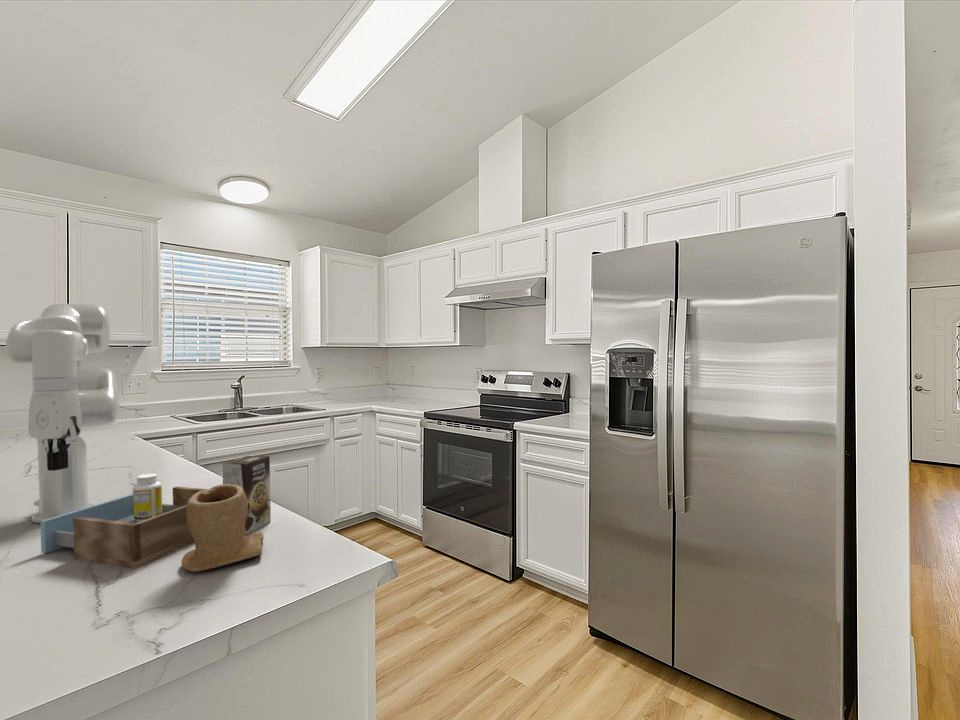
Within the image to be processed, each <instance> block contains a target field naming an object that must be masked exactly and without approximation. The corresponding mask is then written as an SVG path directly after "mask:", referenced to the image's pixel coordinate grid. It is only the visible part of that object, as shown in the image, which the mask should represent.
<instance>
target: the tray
mask: <svg viewBox="0 0 960 720" xmlns="http://www.w3.org/2000/svg"><path fill="white" fill-rule="evenodd" d="M179 507H182V506H180V505H173V504H168V503H162V513H165V512H168V511H171V510H173V509H176V508H179ZM77 517H87V518H96V519H104V520H113V521H121V522H130V523H137V521H135V519H134V498H133V493H130V494H126V495H123V496H121V497H116V498H113V499H110V500H106V501H103V502H100V503H99V502H98V503H96V504H94V505H92V506H89V507H86V508H82V509H79V510H76V511H72V512H69V513H65V514H62V515H59V516H55V517H52V518H49V519H45V520H42V521H40V523H39V524H40V550H41V552H40V553H41V554H48V553H51V552H53V551H56V550H58V549H62V548H71V549H74V529H73V518H77Z"/></svg>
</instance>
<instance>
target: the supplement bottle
mask: <svg viewBox="0 0 960 720" xmlns="http://www.w3.org/2000/svg"><path fill="white" fill-rule="evenodd" d="M132 487H133V488H132V490H133V491H132V492H133V493H132V494H133V498H134V519H135V521H137V522H140V521H143V520H145V519H148V518H151V517H154V516H157V515H159V514H162V504H163V493H162V483H161V482H160V481H158V474H157V473H144V474H139V475H137V477H136V484H135V485H133V486H132Z"/></svg>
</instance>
